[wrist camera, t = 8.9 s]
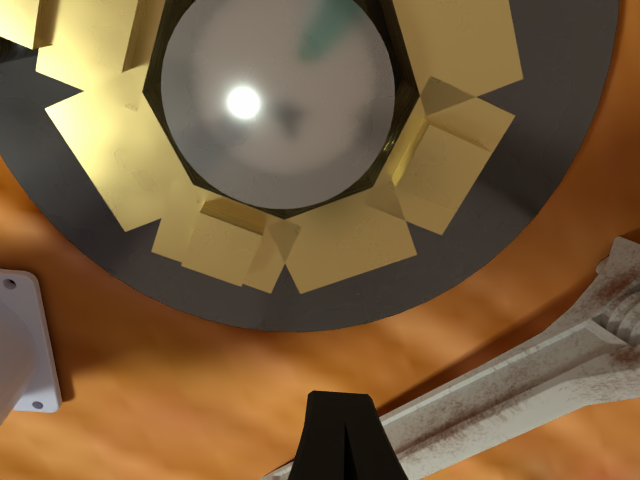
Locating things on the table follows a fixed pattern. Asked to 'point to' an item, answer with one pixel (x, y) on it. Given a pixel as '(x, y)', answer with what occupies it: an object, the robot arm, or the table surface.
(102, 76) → the golden segmented ring
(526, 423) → the wrench
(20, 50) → the stop pin
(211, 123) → the cap base
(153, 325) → the table surface
